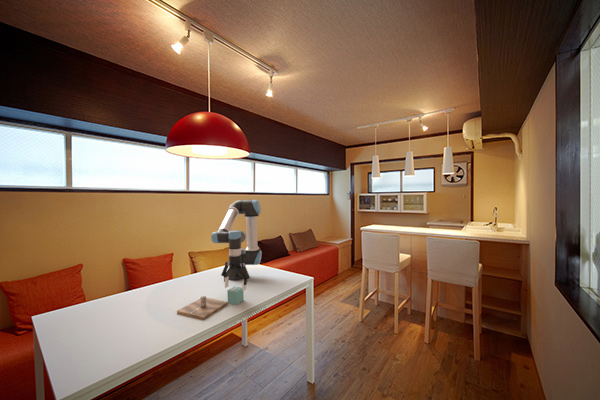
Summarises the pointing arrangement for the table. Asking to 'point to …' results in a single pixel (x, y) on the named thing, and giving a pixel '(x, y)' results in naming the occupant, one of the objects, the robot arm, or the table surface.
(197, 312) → the wooden peg board
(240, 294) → the teal rectangular block
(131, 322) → the table surface
